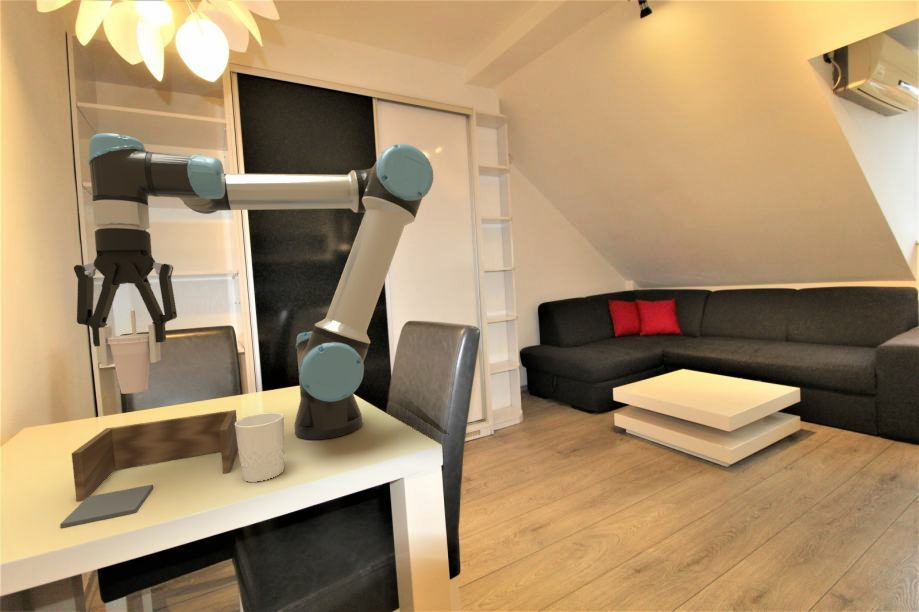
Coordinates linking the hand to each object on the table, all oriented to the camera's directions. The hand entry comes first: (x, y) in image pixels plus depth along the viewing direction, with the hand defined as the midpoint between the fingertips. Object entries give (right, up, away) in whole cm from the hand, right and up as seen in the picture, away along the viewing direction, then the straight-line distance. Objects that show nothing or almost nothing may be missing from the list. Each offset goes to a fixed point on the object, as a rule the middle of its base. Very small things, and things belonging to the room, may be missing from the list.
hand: (132, 362), depth 74 cm
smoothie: (0, -5, 0) cm, 5 cm away
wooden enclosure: (+2, -21, +6) cm, 22 cm away
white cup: (+22, -20, +2) cm, 30 cm away
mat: (+2, -22, -7) cm, 23 cm away
